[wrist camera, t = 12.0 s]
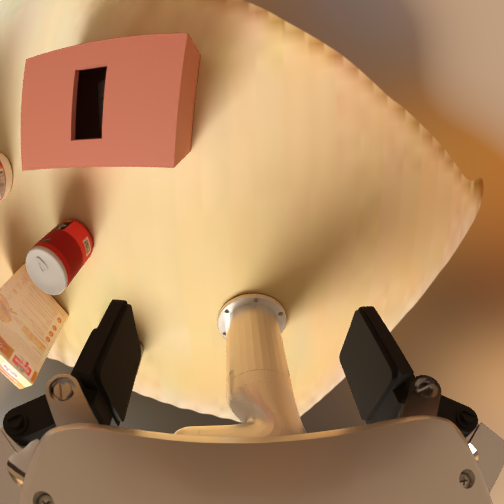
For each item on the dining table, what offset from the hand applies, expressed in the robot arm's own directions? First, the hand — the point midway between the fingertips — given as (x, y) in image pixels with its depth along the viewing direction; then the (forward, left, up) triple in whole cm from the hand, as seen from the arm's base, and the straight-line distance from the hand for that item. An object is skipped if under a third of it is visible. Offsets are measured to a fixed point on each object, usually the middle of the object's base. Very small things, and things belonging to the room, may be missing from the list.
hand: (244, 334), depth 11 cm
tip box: (+9, +16, -32) cm, 37 cm away
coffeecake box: (-27, +39, -32) cm, 57 cm away
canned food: (-13, +26, -32) cm, 43 cm away
